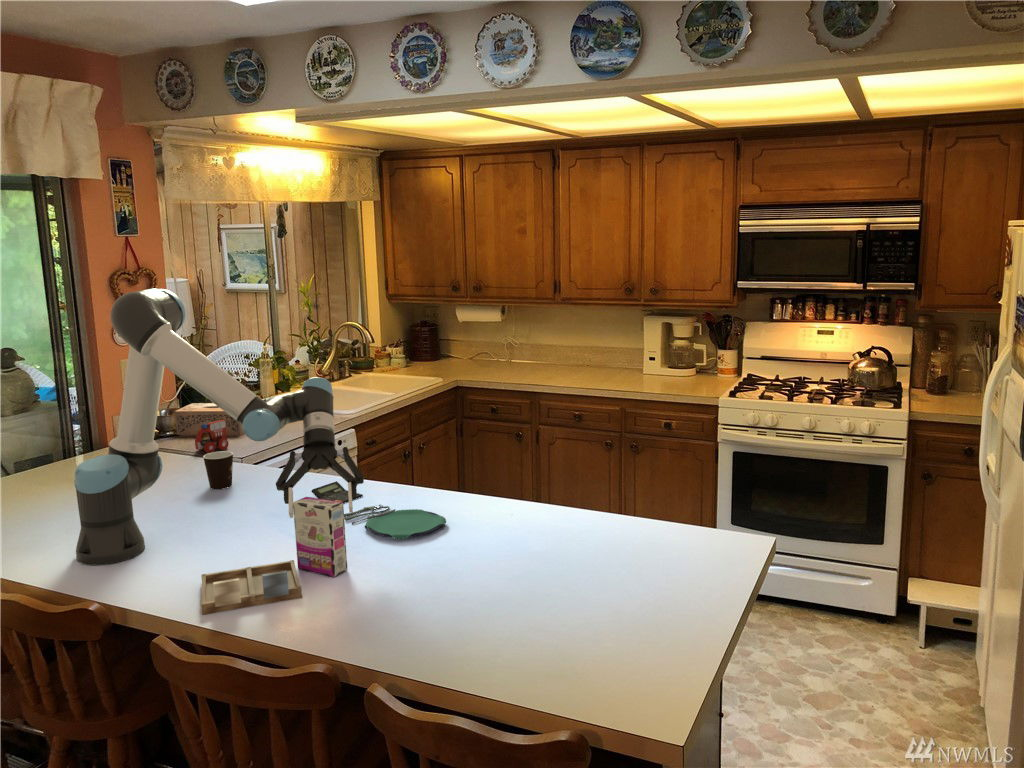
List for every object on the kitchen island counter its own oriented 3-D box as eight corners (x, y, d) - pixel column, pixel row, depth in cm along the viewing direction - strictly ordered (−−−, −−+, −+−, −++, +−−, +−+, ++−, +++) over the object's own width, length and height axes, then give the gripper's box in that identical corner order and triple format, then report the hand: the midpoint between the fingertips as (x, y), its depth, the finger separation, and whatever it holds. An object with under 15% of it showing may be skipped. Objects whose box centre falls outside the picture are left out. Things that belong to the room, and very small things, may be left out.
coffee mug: (226, 491, 243) (223, 459, 241) (200, 490, 245) (197, 458, 243) (246, 479, 254) (243, 449, 252) (221, 478, 256) (218, 448, 254)
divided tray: (202, 614, 164) (199, 586, 162) (202, 583, 178) (199, 557, 177) (302, 597, 170) (300, 570, 169) (294, 568, 185) (292, 543, 184)
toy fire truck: (191, 452, 288) (188, 424, 286) (222, 444, 298) (220, 417, 296) (201, 455, 284) (198, 426, 282) (233, 447, 293) (230, 420, 291)
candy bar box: (348, 569, 184) (344, 501, 181) (334, 578, 180) (329, 508, 177) (311, 561, 189) (306, 495, 186) (296, 569, 185) (291, 501, 182)
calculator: (338, 506, 228) (337, 496, 228) (311, 498, 235) (311, 489, 234) (362, 497, 235) (362, 487, 235) (336, 490, 242) (335, 480, 242)
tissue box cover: (255, 427, 325) (253, 403, 323) (240, 436, 311) (238, 411, 309) (194, 427, 327) (192, 403, 325) (177, 436, 313) (174, 411, 311)
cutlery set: (398, 549, 196) (398, 540, 195) (330, 522, 217) (329, 514, 216) (459, 527, 210) (459, 519, 209) (389, 504, 230) (389, 496, 230)
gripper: (264, 430, 192) (263, 510, 181) (369, 422, 197) (375, 500, 185) (268, 446, 199) (267, 524, 187) (370, 438, 203) (375, 514, 191)
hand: (321, 512), depth 186 cm, fingers open, 13 cm apart
